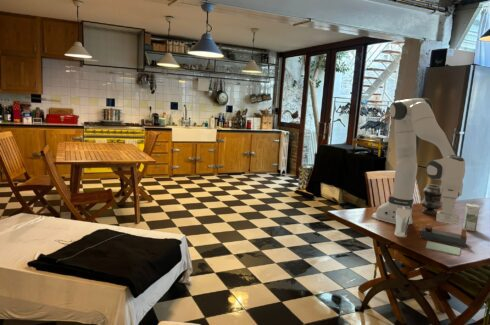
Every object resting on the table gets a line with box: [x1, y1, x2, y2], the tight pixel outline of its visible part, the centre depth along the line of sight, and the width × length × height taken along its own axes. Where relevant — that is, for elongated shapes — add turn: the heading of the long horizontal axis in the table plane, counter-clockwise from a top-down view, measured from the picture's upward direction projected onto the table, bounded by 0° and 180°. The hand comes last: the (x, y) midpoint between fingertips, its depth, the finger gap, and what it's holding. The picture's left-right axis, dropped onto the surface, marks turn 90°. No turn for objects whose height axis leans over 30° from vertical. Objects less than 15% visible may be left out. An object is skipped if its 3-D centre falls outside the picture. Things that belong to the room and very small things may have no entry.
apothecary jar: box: [420, 183, 442, 216], centre depth 233 cm, size 12×12×18 cm
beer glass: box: [393, 206, 411, 239], centre depth 186 cm, size 7×7×15 cm
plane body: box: [419, 222, 468, 248], centre depth 183 cm, size 20×7×8 cm, turn 57°
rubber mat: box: [425, 240, 461, 257], centre depth 172 cm, size 14×10×1 cm
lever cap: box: [435, 209, 460, 226], centre depth 169 cm, size 9×5×5 cm, turn 57°
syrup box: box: [462, 202, 480, 232], centre depth 202 cm, size 6×6×14 cm
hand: (447, 218), depth 169 cm, fingers closed on lever cap, 5 cm apart
